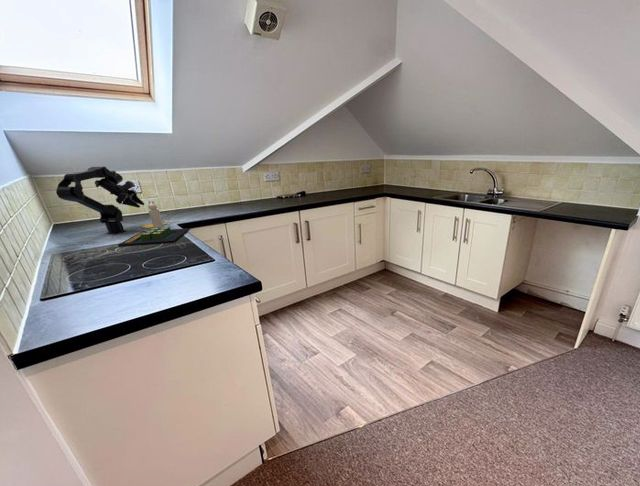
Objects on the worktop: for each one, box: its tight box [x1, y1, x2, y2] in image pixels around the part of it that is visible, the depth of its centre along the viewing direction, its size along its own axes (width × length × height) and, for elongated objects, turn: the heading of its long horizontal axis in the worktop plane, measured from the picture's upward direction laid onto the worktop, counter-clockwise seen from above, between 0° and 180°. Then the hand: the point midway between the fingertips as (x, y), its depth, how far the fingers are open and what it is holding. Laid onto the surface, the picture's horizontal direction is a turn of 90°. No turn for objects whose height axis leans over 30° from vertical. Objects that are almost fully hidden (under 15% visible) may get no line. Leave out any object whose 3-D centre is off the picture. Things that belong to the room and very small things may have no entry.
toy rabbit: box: [147, 199, 165, 228], centre depth 175 cm, size 5×5×17 cm
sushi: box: [117, 226, 191, 247], centre depth 160 cm, size 25×25×4 cm
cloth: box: [140, 222, 169, 229], centre depth 185 cm, size 12×8×1 cm, turn 154°
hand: (142, 205), depth 176 cm, fingers open, 9 cm apart
